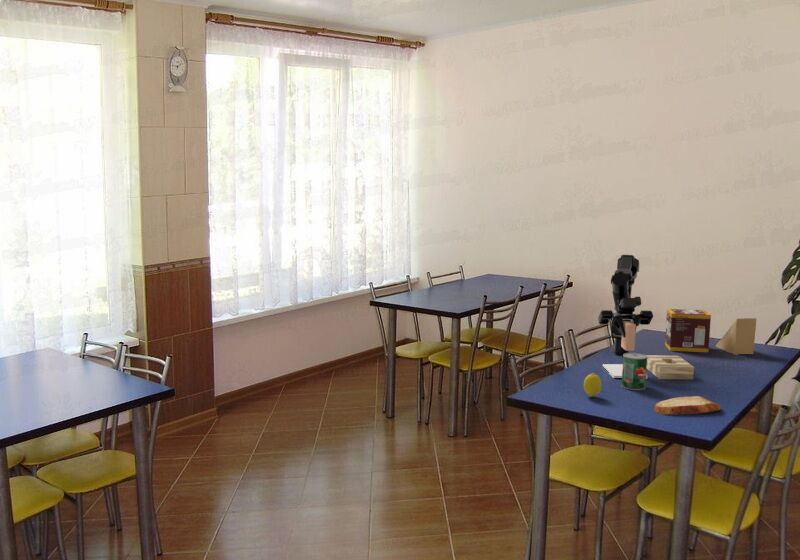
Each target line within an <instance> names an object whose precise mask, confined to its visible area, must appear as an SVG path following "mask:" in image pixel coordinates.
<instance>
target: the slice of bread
mask: <svg viewBox="0 0 800 560" xmlns="http://www.w3.org/2000/svg"><path fill="white" fill-rule="evenodd" d="M721 409H722V406H721V405H720V404H719V403H717V402H713V401H711V400H709V399H707V398H705V397H703V396H700V395H696V396H679V397H672V398H669V399H665V400H661V401H659V402H657V403H655V405H654V408H653V412H654V413H656V414H658V413H659V414H658V415H666V416H667V415H668V416H676V415H677V416H680V415H700V413H701V414H703V413H704V414H708V413H715V412H719V411H721Z"/></svg>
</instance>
